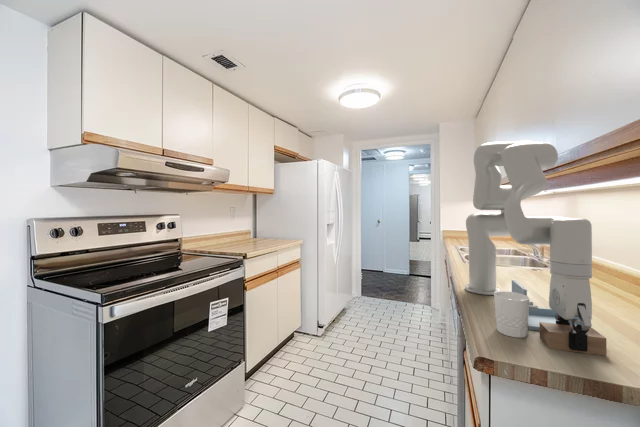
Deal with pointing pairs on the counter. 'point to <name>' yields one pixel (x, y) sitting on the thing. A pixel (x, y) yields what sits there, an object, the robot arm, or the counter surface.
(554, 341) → the brown box
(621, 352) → the counter surface
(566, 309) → the robot arm
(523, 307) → the white cup
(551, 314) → the shelf unit
